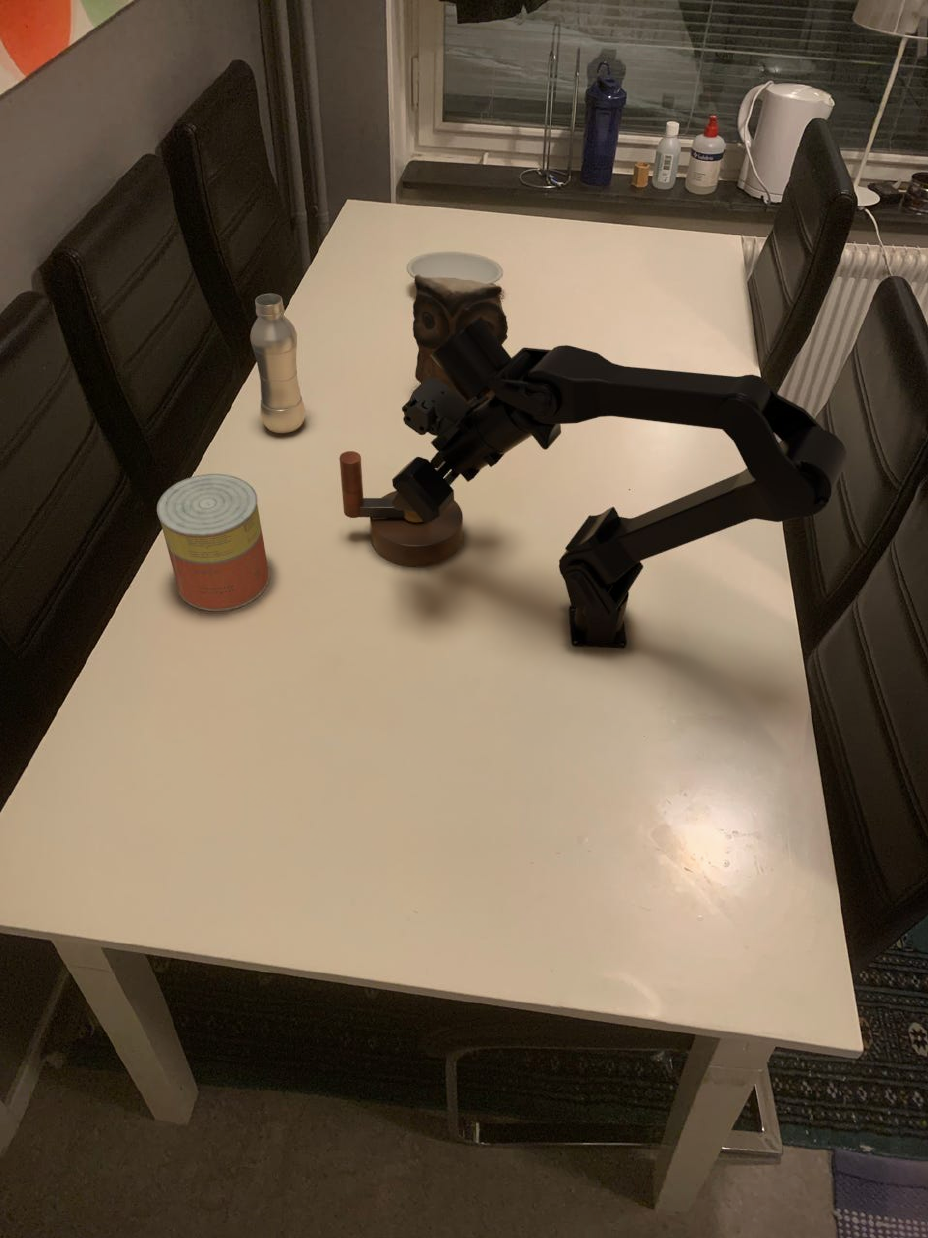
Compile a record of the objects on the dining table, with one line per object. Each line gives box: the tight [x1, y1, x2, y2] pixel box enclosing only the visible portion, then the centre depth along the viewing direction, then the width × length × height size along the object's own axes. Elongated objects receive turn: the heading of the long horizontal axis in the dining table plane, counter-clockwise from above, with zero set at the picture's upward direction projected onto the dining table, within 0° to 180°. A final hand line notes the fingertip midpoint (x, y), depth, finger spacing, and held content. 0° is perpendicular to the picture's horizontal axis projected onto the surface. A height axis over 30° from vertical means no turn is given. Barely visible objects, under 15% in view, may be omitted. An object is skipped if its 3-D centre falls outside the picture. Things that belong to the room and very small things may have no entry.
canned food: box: [156, 473, 271, 612], centre depth 109 cm, size 11×11×12 cm
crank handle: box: [339, 450, 423, 522], centre depth 114 cm, size 11×4×9 cm, turn 92°
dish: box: [405, 251, 504, 285], centre depth 167 cm, size 18×14×5 cm
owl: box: [412, 275, 509, 403], centre depth 137 cm, size 13×13×20 cm
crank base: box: [369, 489, 464, 568], centre depth 119 cm, size 12×12×4 cm
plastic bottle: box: [249, 293, 306, 434], centre depth 130 cm, size 6×7×20 cm
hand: (414, 484), depth 110 cm, fingers open, 9 cm apart
